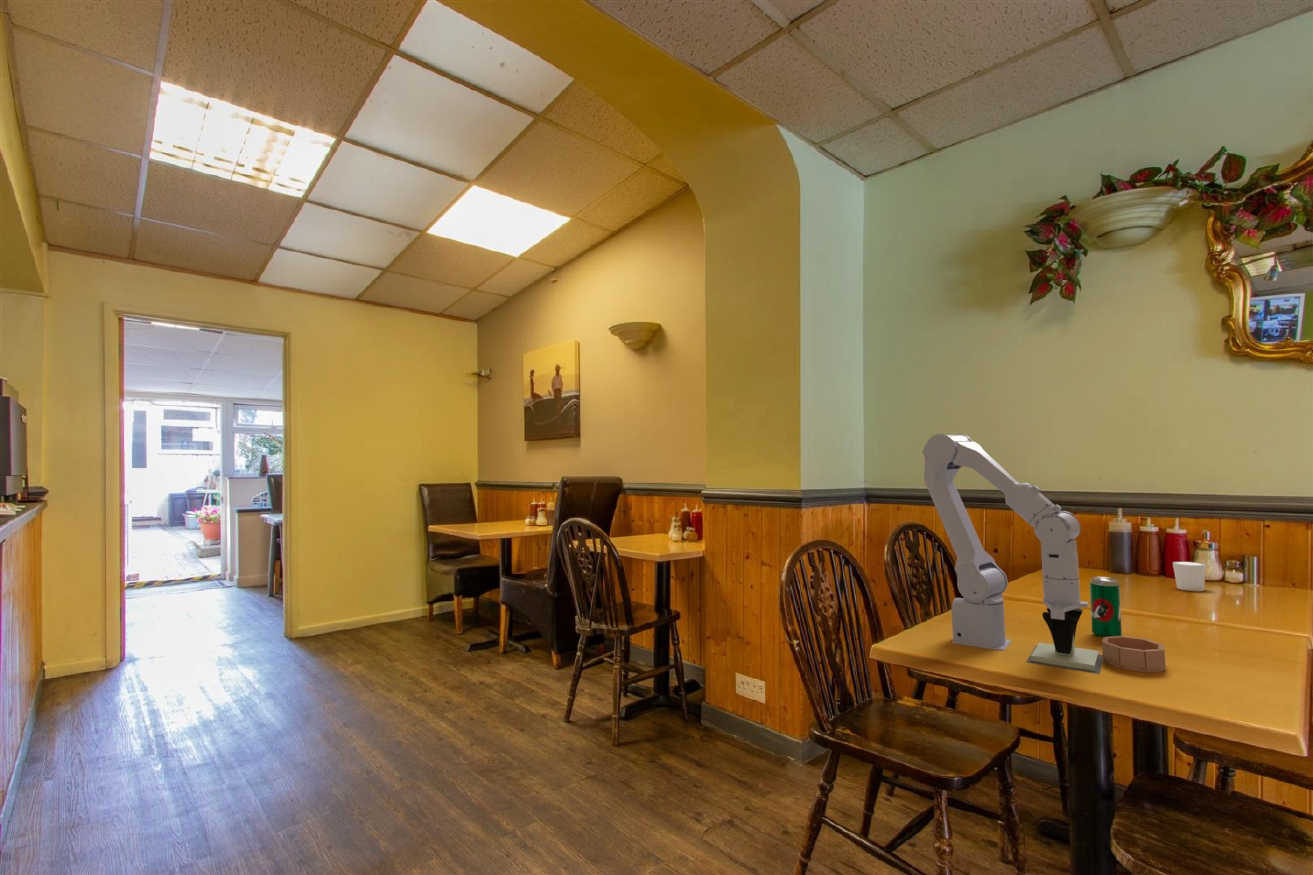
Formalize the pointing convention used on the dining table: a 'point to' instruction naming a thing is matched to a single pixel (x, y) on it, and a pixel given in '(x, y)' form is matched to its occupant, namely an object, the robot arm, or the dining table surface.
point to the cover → (1066, 656)
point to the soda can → (1105, 607)
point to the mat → (1071, 667)
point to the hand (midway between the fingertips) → (1064, 649)
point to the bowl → (1134, 653)
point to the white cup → (1189, 575)
